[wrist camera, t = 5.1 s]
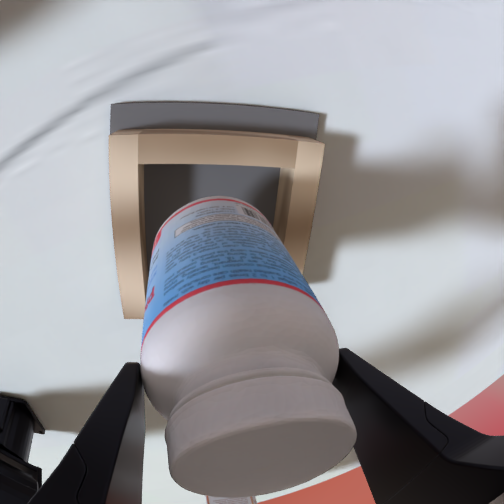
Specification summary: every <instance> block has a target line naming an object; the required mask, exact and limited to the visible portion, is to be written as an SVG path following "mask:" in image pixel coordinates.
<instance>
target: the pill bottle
mask: <svg viewBox="0 0 504 504" xmlns="http://www.w3.org/2000/svg"><path fill="white" fill-rule="evenodd" d="M338 361H339V346H338V340H337V336H336V333H335V330H334V328H333V326H332V324H331V322H330V320H329V318H328V316H327V315H326V313H325V311H324V310H323V308H322V306H321V305H320V303H319V301H318V300H317V298H316V296H315V295H314V293H313V291H312V290H311V288H310V287H309V285H308V283H307V282H306V280H305V278H304V277H303V275H302V274H301V272H300V270H299V269H298V267H297V265H296V264H295V262H294V260H293V259H292V257H291V256H290V254H289V252H288V251H287V249H286V248H285V246H284V245H283V243H282V241H281V240H280V238H279V237H278V235H277V234H276V232H275V231H274V229H273V227H272V226H271V224H270V223H269V221H268V220H267V219H266V218H265V216H264V215H263V214H262V213H261V212H260V211H259V210H257V209H256V208H255V207H253V206H252V205H250V204H249V203H247V202H245V201H242V200H240V199H237V198H233V197H227V196H211V197H205V198H201V199H198V200H195V201H193V202H191V203H188V204H187V205H185V206H183V207H181V208H180V209H178V210H177V211H175V212H174V213H173V214H172V215H171V216H170V217H169V218H168V219H167V220H166V221H165V222H164V223H163V225H162V226H161V228H160V229H159V231H158V233H157V235H156V238H155V241H154V245H153V249H152V256H151V263H150V271H149V278H148V286H147V295H146V304H145V313H144V322H143V333H142V346H141V364H140V369H141V379H142V383H143V387H144V390H145V392H146V394H147V396H148V398H149V400H150V401H151V403H152V405H153V406H154V407H155V409H156V410H157V411H158V412H159V413H160V414H161V415H162V416H163V417H164V418H165V419H167V420H168V424H167V426H166V429H165V441H166V444H167V451H168V463H169V471H170V474H171V477H172V478H173V480H174V481H175V482H176V483H177V484H178V485H180V486H181V487H183V488H184V489H186V490H188V491H191V492H194V493H197V494H201V495H206V496H213V497H224V498H240V497H251V496H257V495H263V494H269V493H273V492H277V491H281V490H285V489H288V488H291V487H294V486H297V485H300V484H302V483H305V482H307V481H309V480H311V479H313V478H315V477H317V476H319V475H321V474H323V473H325V472H326V471H328V470H330V469H331V468H332V467H334V466H335V465H337V464H338V463H339V462H340V461H342V460H343V459H344V458H345V457H346V456H347V455H348V453H349V452H350V451H351V449H352V448H353V446H354V444H355V442H356V437H357V432H356V428H355V425H354V423H353V421H352V418H351V416H350V414H349V412H348V410H347V408H346V405H345V402H344V398H343V396H342V394H341V393H340V392H339V391H338V390H337V389H336V388H335V387H334V386H333V385H332V382H333V380H334V378H335V375H336V372H337V368H338Z"/></svg>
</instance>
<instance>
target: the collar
mask: <svg viewBox="0 0 504 504" xmlns="http://www.w3.org/2000/svg"><path fill="white" fill-rule="evenodd" d="M324 148H325V144H324V143H322V142H319V141H317V140H314V139H312V138H309V137H303V136H294V135H284V134H273V133H261V132H248V131H231V130H208V129H128V130H118V131H116V132H114V133H112V134H110V135H109V179H110V200H111V215H112V228H113V239H114V249H115V258H116V266H117V274H118V282H119V289H120V296H121V302H122V308H123V314H124V319H144V313H145V304H146V295H147V286H148V278H149V277H148V267H147V252H146V234H145V207H144V164H216V165H243V166H263V167H279V168H280V176H279V185H278V193H277V201H276V208H275V216H274V224H273V229H274V231H275V232H276V234H277V235H278V237H279V238H280V240H281V241H282V243H283V245H284V246H285V248H286V249H287V251H288V252H289V254H290V256H291V257H292V259H293V260H294V262H295V264H296V265H297V267H298V269H299V270H300V272H301V274H302V275H303V270H304V265H305V260H306V255H307V250H308V244H309V239H310V233H311V228H312V222H313V216H314V211H315V205H316V199H317V193H318V187H319V180H320V174H321V168H322V161H323V154H324Z"/></svg>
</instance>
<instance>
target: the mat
mask: <svg viewBox="0 0 504 504" xmlns="http://www.w3.org/2000/svg"><path fill="white" fill-rule="evenodd" d="M318 119H319V114H315V113H309V112H301V111H294V110H286V109H277V108H268V107H257V106H245V105H231V104H214V103H180V102H155V103H122V104H111V119H110V134H112V133H114V132H116V131H118V130H128V129H208V130H231V131H248V132H261V133H273V134H284V135H294V136H303V137H309V138H312V139H314V140H316V135H317V127H318ZM279 176H280V168H279V167H263V166H243V165H216V164H144V207H145V234H146V252H147V267H148V277H149V271H150V263H151V256H152V249H153V245H154V241H155V238H156V235H157V233H158V231H159V229H160V228H161V226H162V225H163V223H164V222H165V221H166V220H167V219H168V218H169V217H170V216H171V215H172V214H173V213H174V212H175V211H177V210H178V209H180V208H181V207H183V206H185V205H187V204H188V203H191V202H193V201H195V200H198V199H201V198H205V197H211V196H227V197H233V198H237V199H240V200H242V201H245V202H247V203H249V204H250V205H252V206H253V207H255V208H256V209H257V210H259V211H260V212H261V213H262V214H263V215H264V216H265V218H266V219H267V220H268V221H269V223H270V224H271V226H272V227H273V224H274V216H275V208H276V201H277V193H278V185H279Z"/></svg>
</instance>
